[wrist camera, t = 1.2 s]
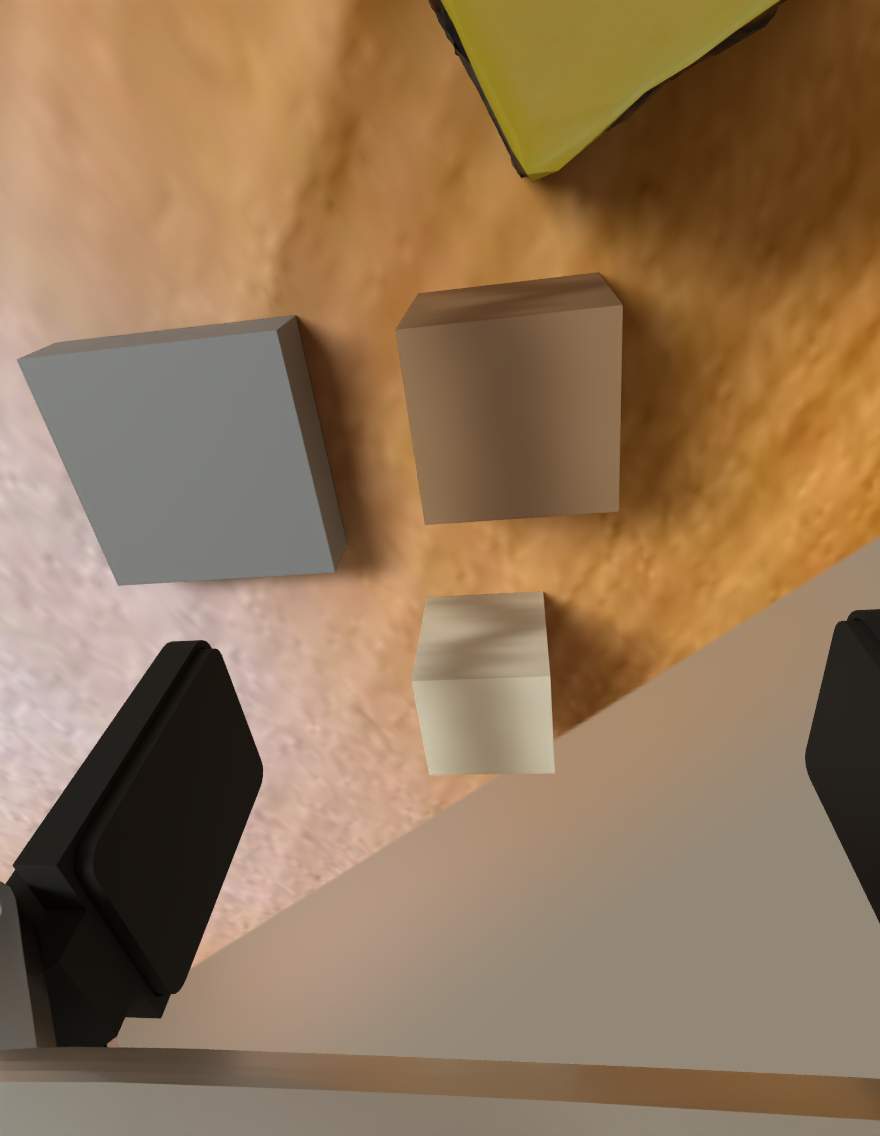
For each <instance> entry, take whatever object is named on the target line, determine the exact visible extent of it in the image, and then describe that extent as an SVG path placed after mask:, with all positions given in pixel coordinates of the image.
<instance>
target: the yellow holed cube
mask: <svg viewBox="0 0 880 1136" xmlns="http://www.w3.org/2000/svg"><path fill="white" fill-rule="evenodd" d="M784 1H786V0H429V3H430V5H431V8H432V9H433V10H434V11H435V13H436V15H437V18H438V21H439V23H440V24H441V26H442V28H443V29H444V31H445V33H446V36H447V38H448V39H449V40H450V42H451V43H452V44H453V46H454V48H455V55H457V56H459V57H460V59H461V61H462V63H463V65H464V67H465V69H466V71H467V73H468V75H469V77H470V78H471V80H472V81H473V83H474V85H475V86H476V88H477V90H478V92H479V94H480V96H481V98H482V100H483V102H484V104H485V106H486V108H487V110H488V112H489V115H490V116H491V118H492V120H493V122H494V124H495V126H496V128H497V130H498V132H499V134H500V136H501V138H502V140H503V142H504V144H505V146H506V148H507V150H508V152H509V154H510V156H511V162H512V165H513V167H514V168H515V169H516V170H517V173H518V174H519V175H520V177H521V178H523V177H528V178H529V179H530V180H531V182H534V181H536V180H538V179H540V178H543V177H545V176H547V175H550V174H552V173H554V172H557V171H559V170H560V169H561V168H562V167H564V166H565V165H566V164H567V163H568V162H570V161H571V160H572V159H573V158H574V157H576V156H577V155H578V154H579V153H580V152H582V151H583V150H584V149H585V148H586V147H587V146H589V145H590V144H591V143H592V142H593V141H595V140H596V139H597V138H598V137H599V136H600V135H601V134H602V133H603V132H606V131H608V130H609V129H611V128H613V127H614V126H616V125H618V124H620V123H621V122H623V121H625V120H626V119H628V118H629V117H630V116H631V115H632V114H633V113H634V112H635V111H636V110H638V109H639V108H640V107H641V106H642V105H643V104H644V103H645V102H646V101H647V100H648V99H650V98H651V97H652V96H653V95H654V94H655V93H656V92H657V91H658V90H659V89H660V88H661V87H662V86H663V85H664V84H665V83H667V82H668V81H669V80H672V79H675V78H676V77H677V76H679V75H680V74H681V73H682V72H684V71H685V70H687V69H689V68H690V67H692V66H694V65H695V64H697V63H699V62H701V61H703V60H704V59H706V58H708V57H710V56H713V55H716V54H719V53H721V52H722V51H724V50H726V49H727V48H729V47H731V46H732V45H734V44H736V43H737V42H739V41H740V40H742V39H744V38H746V37H747V36H749V35H751V34H753V33H754V32H756V31H758V30H760V29H761V28H763V27H765V26H766V25H767V24H768V22H769V21H770V20H771V19H772V18H773V17H774V15H775V13H776V11H777V8H778V6H779V5H780V4H781V3H783V2H784Z"/></svg>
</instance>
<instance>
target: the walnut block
mask: <svg viewBox="0 0 880 1136" xmlns="http://www.w3.org/2000/svg"><path fill="white" fill-rule="evenodd" d="M622 324H623V304H622V303H621V302H620V300H619V299H618V298H617V296H616V295H615V294H614V292H613V291H612V290H611V288H610V287H609V286H608V284H607V283H606V282H605V280H604V279H603V278H602V276H601V275H600V274H599V272H598V273H590V274H581V275H573V276H564V277H556V278H547V279H539V280H530V281H521V282H513V283H504V284H496V285H487V286H479V287H470V288H462V289H453V290H445V291H436V292H427V293H419V294H418V295H417V296H416V298H415V299H414V301H413V303H412V304H411V306H410V307H409V309H408V311H407V312H406V314H405V315H404V317H403V319H402V320H401V322H400V323H399V325H398V327H397V328H396V330H395V331H396V337H397V344H398V351H399V357H400V364H401V370H402V377H403V383H404V390H405V397H406V403H407V410H408V416H409V423H410V430H411V436H412V443H413V449H414V456H415V463H416V469H417V476H418V482H419V489H420V495H421V502H422V509H423V515H424V522H425V525H432V524H446V523H461V522H476V521H490V520H505V519H519V518H534V517H549V516H563V515H578V514H593V513H607V512H619V476H620V425H621V375H622Z"/></svg>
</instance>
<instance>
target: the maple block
mask: <svg viewBox="0 0 880 1136" xmlns="http://www.w3.org/2000/svg"><path fill="white" fill-rule="evenodd" d="M412 686H413V691H414V696H415V702H416V707H417V712H418V718H419V723H420V728H421V733H422V739H423V744H424V749H425V755H426V760H427V765H428V770H429V775H467V774H525V773H555V768H554V747H553V725H552V703H551V681H550V667H549V655H548V644H547V632H546V620H545V608H544V596H543V591H538V592H519V593H500V594H482V595H463V596H444V597H427V598H426V603H425V609H424V615H423V620H422V626H421V631H420V637H419V643H418V648H417V654H416V660H415V665H414V671H413V676H412Z"/></svg>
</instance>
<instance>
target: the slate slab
mask: <svg viewBox="0 0 880 1136" xmlns="http://www.w3.org/2000/svg"><path fill="white" fill-rule="evenodd" d="M17 361H18V363H19V366H20V368H21V370H22V372H23V374H24V377H25V379H26V381H27V383H28V386H29V388H30V390H31V392H32V395H33V397H34V399H35V401H36V403H37V406H38V408H39V410H40V412H41V415H42V417H43V419H44V421H45V423H46V426H47V428H48V430H49V432H50V435H51V437H52V439H53V441H54V444H55V446H56V448H57V450H58V452H59V455H60V457H61V459H62V461H63V464H64V466H65V468H66V470H67V473H68V475H69V477H70V479H71V481H72V484H73V486H74V488H75V490H76V493H77V495H78V497H79V499H80V502H81V504H82V506H83V508H84V510H85V513H86V515H87V517H88V519H89V522H90V524H91V526H92V528H93V531H94V533H95V535H96V537H97V539H98V542H99V544H100V546H101V548H102V551H103V553H104V555H105V557H106V560H107V562H108V564H109V566H110V568H111V571H112V573H113V575H114V577H115V580H116V582H117V584H118V586H120V585H137V584H153V583H170V582H187V581H203V580H220V579H237V578H254V577H270V576H287V575H304V574H320V573H335V572H336V569H337V567H338V564H339V562H340V559H341V557H342V554H343V552H344V549H345V547H346V544H347V541H346V537H345V532H344V528H343V524H342V519H341V515H340V510H339V506H338V501H337V497H336V492H335V488H334V483H333V479H332V475H331V470H330V466H329V461H328V457H327V452H326V448H325V443H324V439H323V435H322V430H321V426H320V421H319V417H318V412H317V408H316V403H315V399H314V394H313V390H312V386H311V381H310V377H309V372H308V368H307V363H306V359H305V354H304V350H303V346H302V341H301V337H300V332H299V328H298V323H297V319H296V315H293V316H284V317H276V318H267V319H258V320H250V321H241V322H232V323H224V324H215V325H206V326H198V327H189V328H180V329H172V330H163V331H154V332H146V333H137V334H128V335H120V336H111V337H102V338H94V339H85V340H76V341H68V342H59V343H54V344H52V345H50V346H47V347H45V348H42V349H40V350H38V351H35V352H33V353H31V354H28V355H26V356H24V357H21V358H19V359H17Z"/></svg>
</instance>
